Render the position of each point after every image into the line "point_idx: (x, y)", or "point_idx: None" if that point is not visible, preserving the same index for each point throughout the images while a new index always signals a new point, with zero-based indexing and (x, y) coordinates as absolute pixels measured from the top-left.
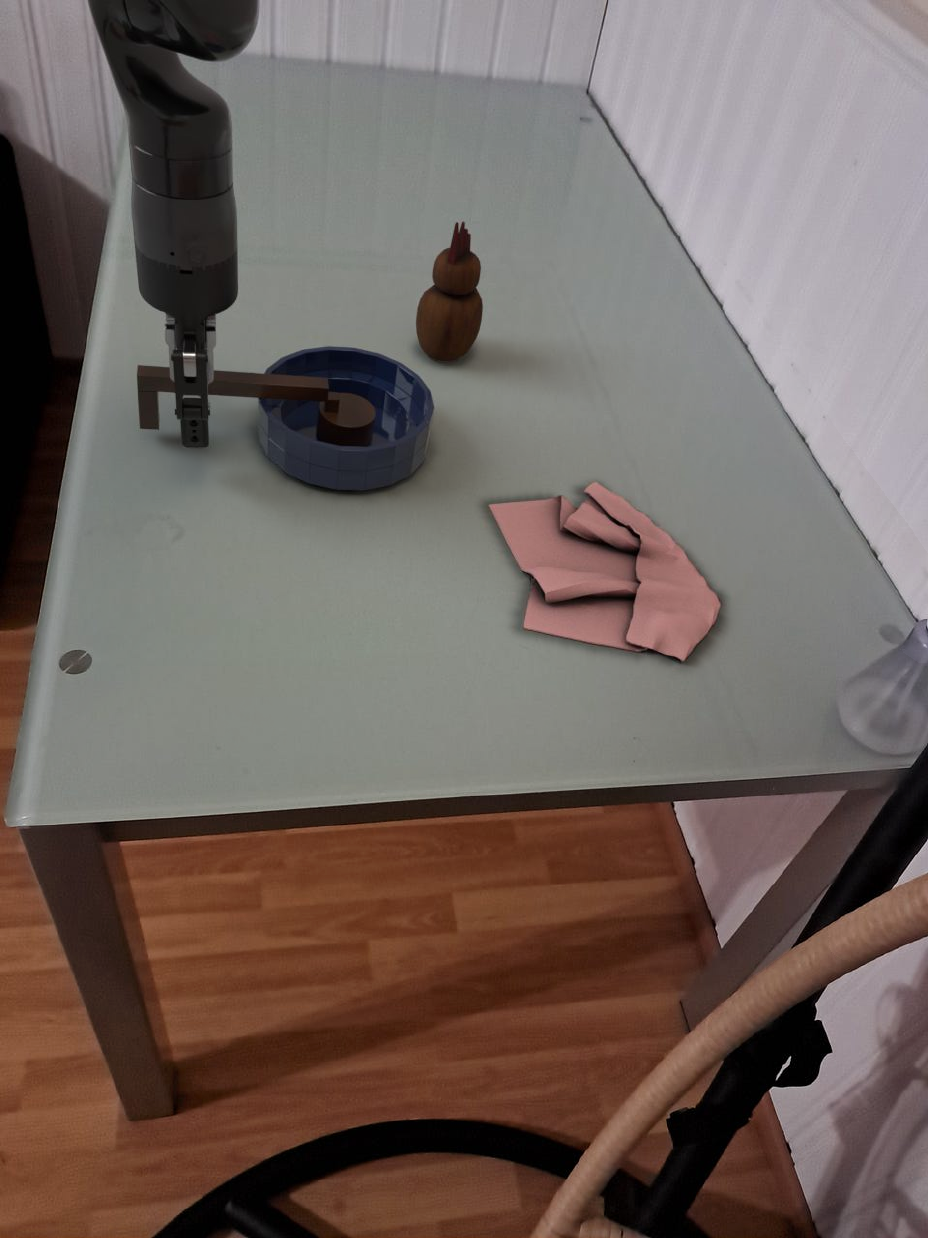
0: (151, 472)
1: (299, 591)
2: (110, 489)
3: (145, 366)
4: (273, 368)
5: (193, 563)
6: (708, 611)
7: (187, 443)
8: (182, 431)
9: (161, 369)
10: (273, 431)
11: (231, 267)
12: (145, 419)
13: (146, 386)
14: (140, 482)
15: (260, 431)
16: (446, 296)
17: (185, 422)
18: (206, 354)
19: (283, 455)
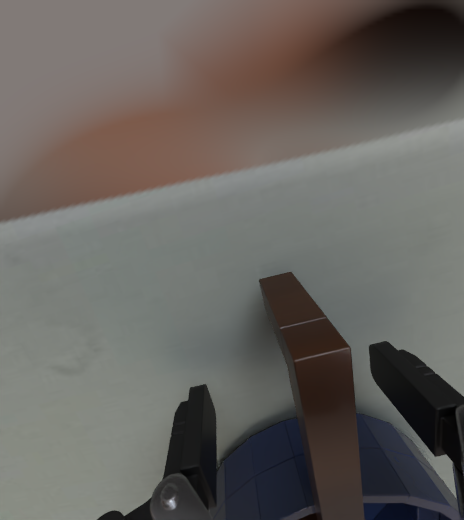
0: (185, 302)
1: (34, 497)
2: (125, 258)
3: (347, 366)
4: (412, 503)
5: (23, 398)
6: None
7: (176, 411)
8: (186, 416)
9: (339, 403)
10: (247, 509)
11: None
12: (264, 298)
13: (286, 356)
14: (157, 294)
15: (282, 446)
16: None
17: (166, 464)
18: (431, 451)
19: (228, 486)
